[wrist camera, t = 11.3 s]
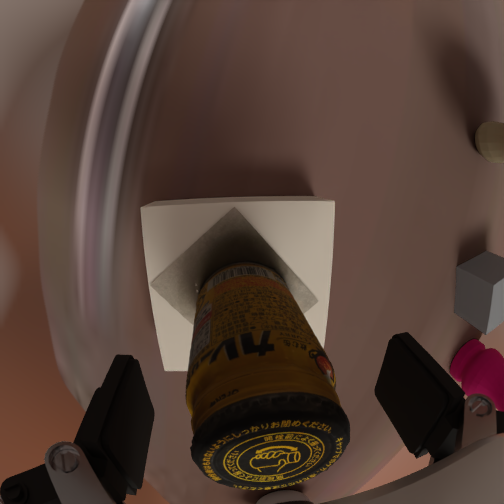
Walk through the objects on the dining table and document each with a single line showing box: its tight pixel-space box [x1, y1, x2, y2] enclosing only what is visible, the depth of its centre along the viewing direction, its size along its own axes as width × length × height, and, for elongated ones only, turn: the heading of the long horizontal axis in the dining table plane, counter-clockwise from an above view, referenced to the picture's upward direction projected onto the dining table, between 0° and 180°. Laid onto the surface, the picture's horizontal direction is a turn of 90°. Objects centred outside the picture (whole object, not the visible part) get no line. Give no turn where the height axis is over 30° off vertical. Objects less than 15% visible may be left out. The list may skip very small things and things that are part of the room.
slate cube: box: [454, 251, 504, 335], centre depth 23 cm, size 6×6×6 cm
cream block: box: [140, 196, 335, 371], centre depth 20 cm, size 12×12×4 cm
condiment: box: [150, 207, 350, 490], centre depth 13 cm, size 7×8×12 cm
